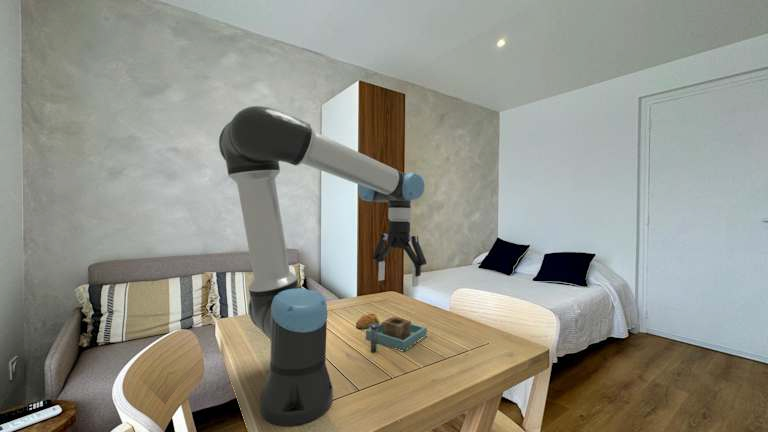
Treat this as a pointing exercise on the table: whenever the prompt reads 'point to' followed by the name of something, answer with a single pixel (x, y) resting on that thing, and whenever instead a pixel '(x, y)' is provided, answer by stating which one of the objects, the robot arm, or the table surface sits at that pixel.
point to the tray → (416, 334)
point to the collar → (397, 328)
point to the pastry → (367, 321)
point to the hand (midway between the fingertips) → (397, 283)
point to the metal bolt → (374, 336)
